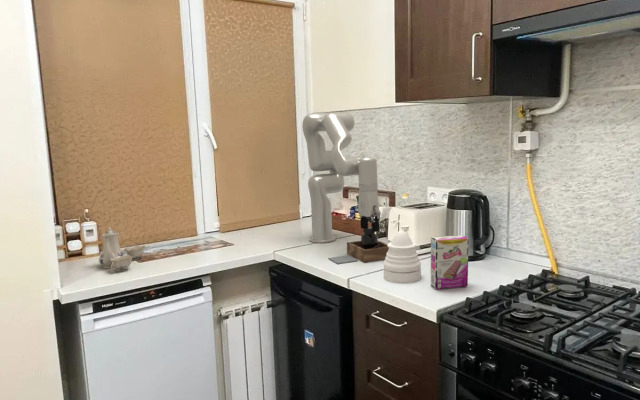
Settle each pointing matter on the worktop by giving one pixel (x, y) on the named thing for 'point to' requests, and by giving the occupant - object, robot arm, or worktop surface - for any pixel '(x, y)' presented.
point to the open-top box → (367, 252)
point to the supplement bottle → (369, 239)
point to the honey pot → (402, 259)
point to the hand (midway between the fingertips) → (369, 229)
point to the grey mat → (343, 259)
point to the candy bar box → (449, 262)
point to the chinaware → (118, 252)
